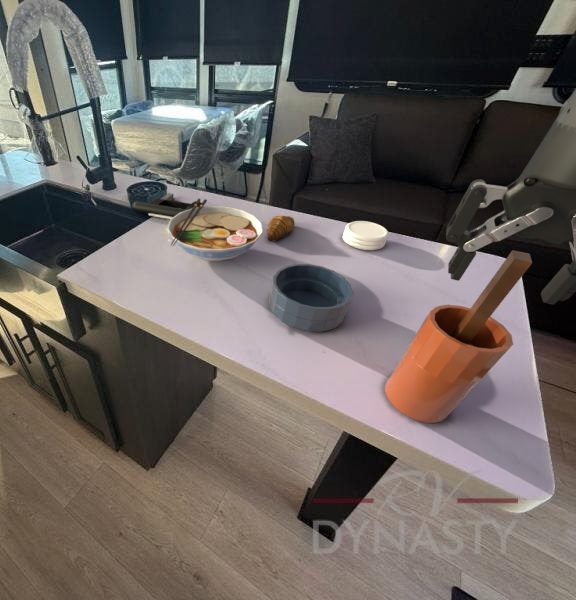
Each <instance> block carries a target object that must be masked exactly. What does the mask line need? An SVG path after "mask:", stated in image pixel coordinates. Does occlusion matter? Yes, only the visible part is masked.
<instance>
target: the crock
mask: <svg viewBox="0 0 576 600" xmlns="http://www.w3.org/2000/svg"><path fill="white" fill-rule="evenodd" d="M470 309H471V307H467V306H463V305H457V304H442V305H437V306H435V307H433V308H432V309H431V310H430V311H429V312H428V314H427V315H426V317H425V319H424V320H423V322H422V324H421V325H420V327H419V328H418V330H417V332H416V333H415V335H414V336H413V337H412V340H411V341H410V343H409V346H408V347H407V348H406V351H405V352H404V353H403V355H402V357H401V359H400V360H399V362H398V363H397V365H396V367H395V368H394V369H393V371H392V373H391V375H390V376H389V377H388V379H387V381H386V383H385V385H384V391H385V394H386V397H387V400H388V401H389V402H390V404H391V405H392V406H393V407H394V408H396V409H397V410H398V412H400V413H401V414H402V415H405V416H406V417H407V418H410V419H412V420H415V421H418V422H421V423H426V424H436V423H441V422H443V421H444V420H445V419H446V418H448V417H449V415H451V413H452V412H453V411H454V410H455V409H456V408H457V407H458V406H459V405H460V403H462V401H463V400H464V399H465V398H466V397H467V396H468V395H469V393H470V392H471V391H472V390H473V389H474V388H475V387H476V386H477V385H478V383H480V381H482V379H484V377H485V376H486V375H487V374H488V373H489V371H490V370H491V369H492V368H493V367H494V366H495V365H496V364H497V363H498V362H499V361H500V360H501V359H502V357H503V356H504V355H505V354H506V353H507V352H508V351H509V350H510V349H511V347H512V346H513V345H514V340H513V336H512V334H511V333H510V332H509V330H508V329H507V328H506V326H505V325H504V324H502V323H501V322H499V321H498V320H496V319H495V318H494V317H493V316H490V317H489V319H488V320H487V321H486V322H485V324H484V325H483V326H482V328H481V329H480V330H479V331H478V333H477V334H476V335H475V336H474V338H473V339H472V340H471V342H470V343H471V344H472V345H473V346H471V345H468V344H465V343H462V342H460V341H458V340H456V339H455V338H453V337H451V336H449V335H448V334H453V332H454V331H455V329H456V328H457V327H458V325H459V324H460V322H461V321H462V320H463V318H464V317H465V315H466V314H467V313H468V311H469V310H470ZM446 333H448V334H446Z"/></svg>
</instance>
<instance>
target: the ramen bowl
mask: <svg viewBox="0 0 576 600" xmlns="http://www.w3.org/2000/svg"><path fill="white" fill-rule="evenodd" d="M196 201H197V202H196V203H195V205H194V207H193V208H192V209H189V210H186V211H183V212H180V213H179V214H177V215H176V216H174V217H173V218H172V219H169V222H168V225H167V230H168V232H169V235H170V237H171V238H172V241H171V243H170V246H172V247H174V246H175V245H176V246H177V247H178V248H179V249H180V250H182V251H183V252H185V253H186V254H188V255H189V256H191V257H194V258H196V259H200V260H204V261H213V262H215V261H216V262H218V261H220V262H221V261H225V260H230V259H234V258H237V257H238V256H241V255H242V254H244V253H246V252H247V251H249V250H250V248H252V247H253V245H254V244H255V243H256V242H257V241H258V239H260V237H261V236H262V234H263V232H264V231H263V222H261V221H260V220H259V219H258V217H256V215H254V214H252V213H250V212H247V211H245V210H243V209H239V208H234V207H230V206H221V205H219V206H218V205H206V204H207V201H208V200H207V198H204V199H203V201H202V202H201V198H197V199H196ZM199 202H201V203H202V204H201V205H200V207H198V208H196V207H197V205H198V204H199Z"/></svg>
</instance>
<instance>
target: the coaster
mask: <svg viewBox="0 0 576 600" xmlns="http://www.w3.org/2000/svg"><path fill="white" fill-rule="evenodd" d="M389 236H390V232H389V231H388V229H386V228H385V227H384V226H382V225H380V224H379V223H377V222H376V223H375V222H371V221H366V220H355V221H351V222H349V223H348V224H346V225H345V227H344V231H343V234H342V240H343V241H344V243H346V244H347V245H348V246H350V247H352V248H355V249H358V250H363V251H377V250H381V249H383V248H384V247H385V245H386V242H387V241H388V238H389Z"/></svg>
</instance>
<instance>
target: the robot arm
mask: <svg viewBox="0 0 576 600" xmlns="http://www.w3.org/2000/svg"><path fill="white" fill-rule="evenodd" d="M496 200H497V201H498V200H501V203H502V206H503V209H504V210H502V211H500V212H499V213H497V214H495V215H494V216H492V217H490V218H488V219H486V220H485V222H484V223H483V224H481V225H479V226H477V227H475V228H473V229H471V230H470V231H469V230H467V228H468V226H469V225H470V223H471V221H472V220H473V218H474V216H475V214H476V213H477V211H478V209H484V208H487V207H488V206H490V205H491V203H493V202H494V201H496ZM445 228H446V230H445V239H446V241H447V242H448V243H454V244H455V245H457V248H456V250H455V252H454V253H453V255H452V256H451V258H450V259H449V261H448V265H447V273H448V274H450V280H454V281H458V282H460V280H461V279H462V277H463V276H464V274H465V273H466V271H467V269H468V268H469V267H470V265H471V263H472V262H473V260H474V259H475V257H476V255H477V251H478V250H479V249H482V248H484V247H485V246H487V245H490V244H492V243H495V242H496V243H497V242H500V241H502V240H505V239H506V238H508V237H511V236H512V235H515V234H516V236H517V238H522V239H529V240H533V239H534V240H536V239H537V240H542V241H545V242H547V243H549V244H554V245H560V246H561V245H562V244H563V243H568V244H569V247H570V253H571V258H572V262H571V263H570V264H568V263H564V265H563V266H562V267H561V268H560V270H559V271H557V273H556V274H555V275H554V276H553V277H552V279H551V280H550V281H549V282H548V283H547V284H546V286H545V287H544V288H543V289H542V290H541V293H540V296H541V300H542V302H543V303H545V304H549V305H556V303H558V301H560V302H565V301H566V300H569V299H570V298H571V297H572V296H573V295H574V294H575V292H576V88H575V89H574V90H573V91H572V93H571V95H570V96H569V97H568V99H566V100H565V102H564V103H563V104H562V106H561V107H560V110H559V112H558V115H557V117H556V118H555V120H554V122H553V123H552V125H551V126H550V127H549V130H548V131H547V133H546V134H545V136H544V137H543V139H542V141H541V142H540V144H539V145H538V146H537V148H536V150H535V152H534V154H533V155H532V157H531V158H530V160H529V161H528V163H527V164H526V166H525V168H524V169H523V171H522V172H521V174H520V175H519V176H518V178H517V179H516V180H515V181H513V182H511V183H510V184H509V185H507V186H502V185H496V184H489V183H488V184H487V183H486V181H485V180H483V179H475V180H473V181H472V182H471V183H470V184H469V186H468V187H467V189H466V191H465V192H464V194H463V196H462V199H461V201H459V204H458V206H457V207H456V210H455V211H454V213H453V215H452V217H451V219H450V221H449V222H448V224H447V226H446V227H445Z"/></svg>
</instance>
